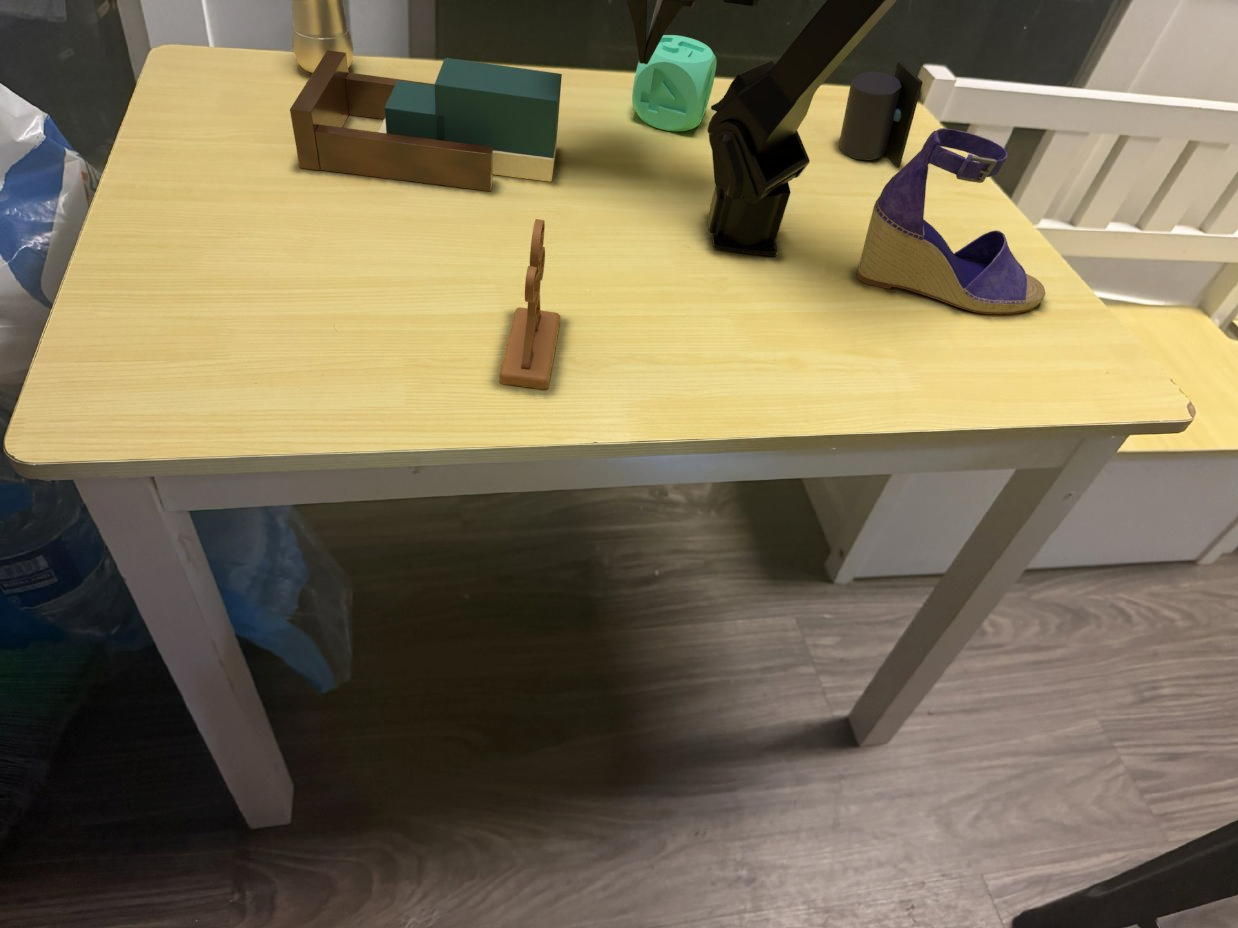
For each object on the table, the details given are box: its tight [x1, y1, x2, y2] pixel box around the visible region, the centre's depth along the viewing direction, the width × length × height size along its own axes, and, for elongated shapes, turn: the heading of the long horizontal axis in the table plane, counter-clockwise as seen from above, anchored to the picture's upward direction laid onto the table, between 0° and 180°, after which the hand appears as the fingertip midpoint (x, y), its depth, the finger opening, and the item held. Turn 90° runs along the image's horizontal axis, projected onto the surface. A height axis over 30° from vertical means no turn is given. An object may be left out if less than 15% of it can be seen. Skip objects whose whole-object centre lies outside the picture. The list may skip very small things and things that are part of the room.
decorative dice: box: [631, 34, 717, 132], centre depth 97 cm, size 8×8×8 cm
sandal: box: [856, 127, 1046, 315], centre depth 77 cm, size 8×20×15 cm, turn 81°
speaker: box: [838, 61, 924, 168], centre depth 97 cm, size 8×6×10 cm
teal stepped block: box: [378, 57, 563, 183], centre depth 85 cm, size 18×7×8 cm, turn 89°
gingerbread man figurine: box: [499, 218, 561, 390], centre depth 63 cm, size 9×4×12 cm, turn 176°
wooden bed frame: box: [289, 50, 494, 192], centre depth 85 cm, size 19×14×6 cm
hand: (643, 62), depth 80 cm, fingers closed
